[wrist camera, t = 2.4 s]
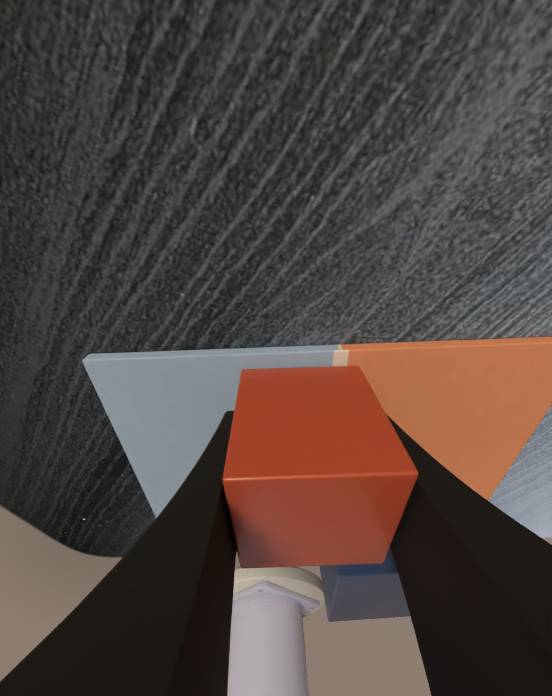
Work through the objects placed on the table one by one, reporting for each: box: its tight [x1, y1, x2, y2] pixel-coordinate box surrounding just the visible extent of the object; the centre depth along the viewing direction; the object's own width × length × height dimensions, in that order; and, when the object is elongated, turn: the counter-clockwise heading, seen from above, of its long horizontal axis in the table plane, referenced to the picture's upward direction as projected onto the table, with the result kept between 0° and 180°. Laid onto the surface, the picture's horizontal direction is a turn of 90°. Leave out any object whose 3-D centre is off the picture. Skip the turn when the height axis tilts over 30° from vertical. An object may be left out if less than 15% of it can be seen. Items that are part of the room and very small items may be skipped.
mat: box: [82, 337, 552, 518], centre depth 12 cm, size 19×11×1 cm, turn 91°
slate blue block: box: [320, 548, 410, 622], centre depth 11 cm, size 4×4×4 cm
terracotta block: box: [222, 366, 418, 568], centre depth 9 cm, size 4×4×4 cm
